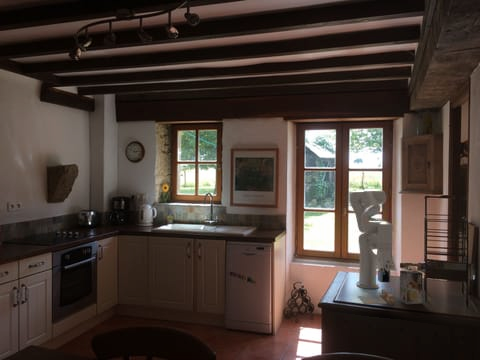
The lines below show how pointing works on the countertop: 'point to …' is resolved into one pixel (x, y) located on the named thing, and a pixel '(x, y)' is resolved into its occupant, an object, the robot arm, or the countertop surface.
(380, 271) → the block
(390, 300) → the rail
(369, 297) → the mat
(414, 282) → the coffee box
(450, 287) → the countertop surface
